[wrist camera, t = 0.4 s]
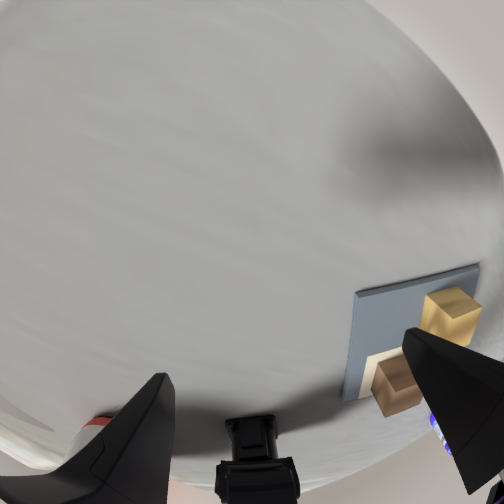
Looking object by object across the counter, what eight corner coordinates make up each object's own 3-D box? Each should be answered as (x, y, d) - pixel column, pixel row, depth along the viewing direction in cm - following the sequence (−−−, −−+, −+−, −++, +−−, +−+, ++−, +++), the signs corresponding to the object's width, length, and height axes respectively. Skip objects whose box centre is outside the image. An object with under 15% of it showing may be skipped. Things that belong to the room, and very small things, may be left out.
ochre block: (446, 321, 26) (469, 343, 21) (417, 331, 26) (439, 357, 21) (455, 285, 24) (482, 306, 20) (425, 294, 24) (452, 319, 19)
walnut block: (402, 378, 29) (419, 404, 24) (370, 389, 29) (384, 417, 24) (412, 351, 27) (431, 377, 22) (377, 362, 27) (395, 392, 22)
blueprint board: (446, 360, 30) (449, 364, 29) (341, 397, 30) (343, 403, 29) (475, 264, 25) (480, 268, 24) (354, 292, 24) (359, 298, 23)
